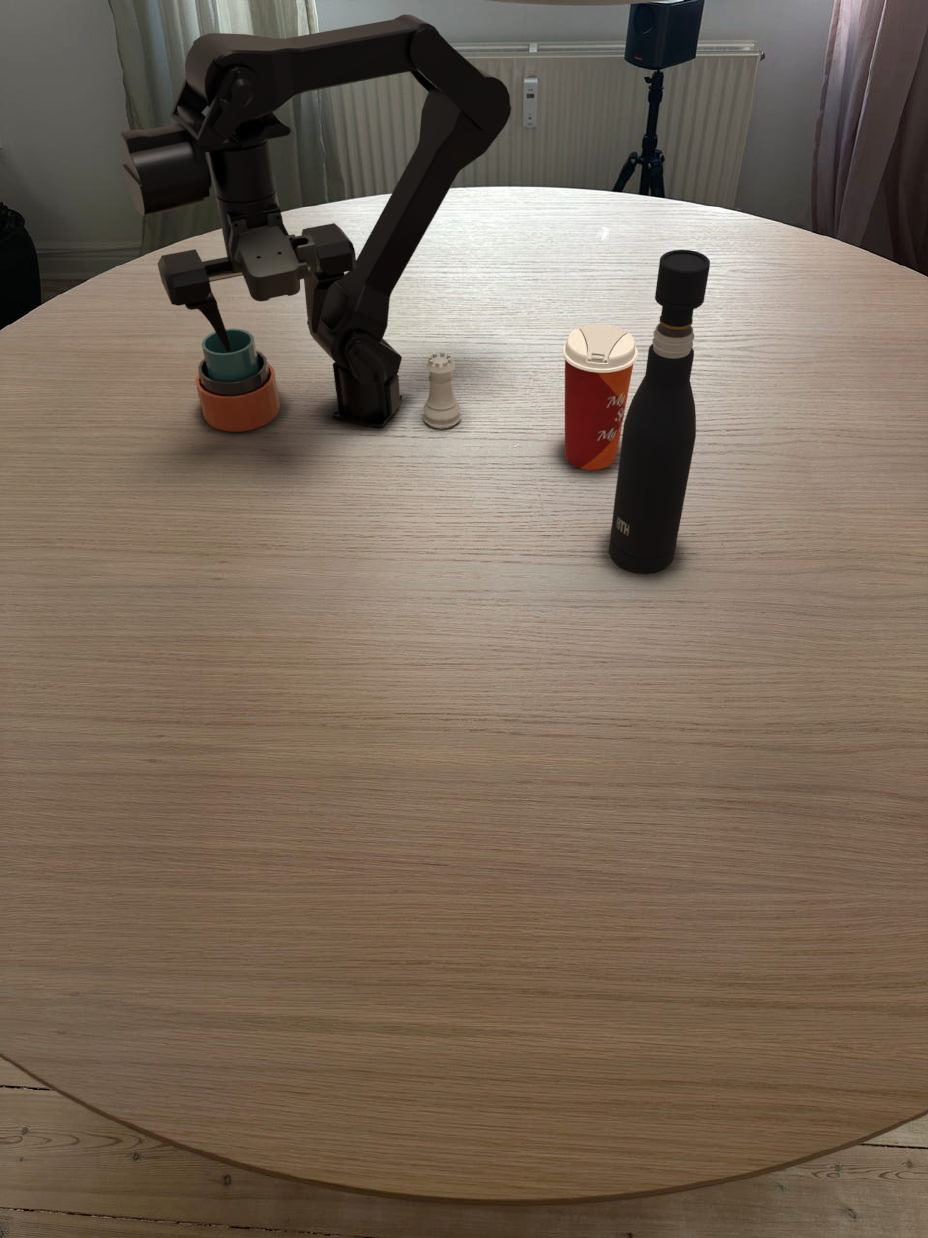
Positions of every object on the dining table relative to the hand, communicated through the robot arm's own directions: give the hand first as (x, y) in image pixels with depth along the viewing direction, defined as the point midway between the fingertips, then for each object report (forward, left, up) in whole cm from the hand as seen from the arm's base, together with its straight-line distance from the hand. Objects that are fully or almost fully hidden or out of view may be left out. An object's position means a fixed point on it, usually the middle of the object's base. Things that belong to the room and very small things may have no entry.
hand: (271, 340), depth 103 cm
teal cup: (-8, +3, -10) cm, 13 cm away
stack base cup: (-8, +3, -12) cm, 14 cm away
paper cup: (+33, +8, -12) cm, 36 cm away
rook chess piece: (+15, +9, -12) cm, 22 cm away
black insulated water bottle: (+42, -6, -12) cm, 45 cm away
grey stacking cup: (-8, +3, -12) cm, 14 cm away
